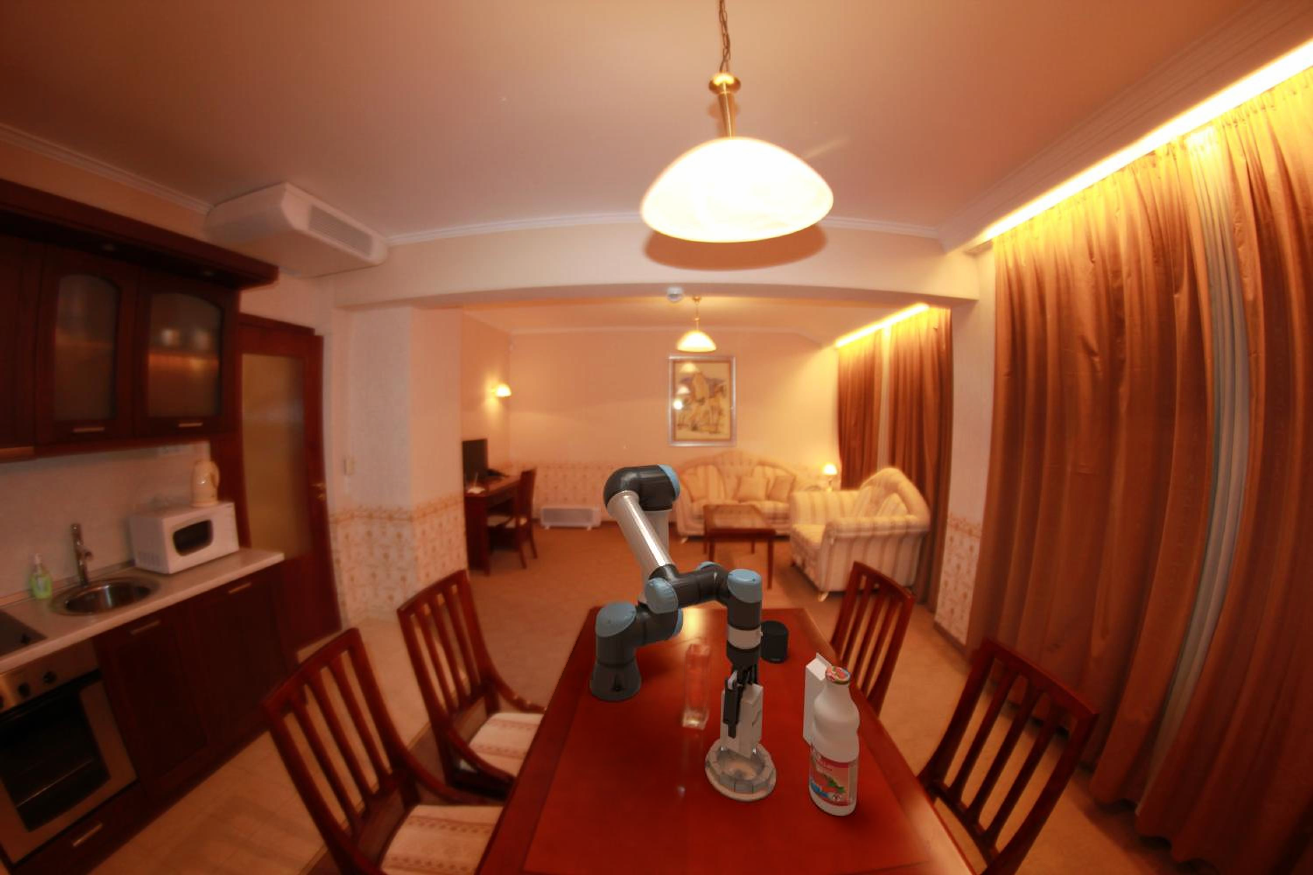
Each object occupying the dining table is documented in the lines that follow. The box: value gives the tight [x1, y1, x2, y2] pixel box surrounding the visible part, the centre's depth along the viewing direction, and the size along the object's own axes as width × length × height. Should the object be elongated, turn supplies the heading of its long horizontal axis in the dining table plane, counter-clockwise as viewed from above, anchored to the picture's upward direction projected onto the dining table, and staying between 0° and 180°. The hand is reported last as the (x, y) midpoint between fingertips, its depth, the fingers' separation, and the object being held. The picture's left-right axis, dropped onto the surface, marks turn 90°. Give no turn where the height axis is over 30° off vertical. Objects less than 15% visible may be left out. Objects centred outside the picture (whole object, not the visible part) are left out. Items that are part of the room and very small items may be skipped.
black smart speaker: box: [760, 619, 790, 664], centre depth 147 cm, size 9×9×10 cm
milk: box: [802, 652, 833, 747], centre depth 109 cm, size 6×6×22 cm
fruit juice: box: [808, 665, 860, 817], centre depth 94 cm, size 9×9×28 cm
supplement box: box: [719, 683, 764, 758], centre depth 100 cm, size 7×7×13 cm
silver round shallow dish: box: [704, 738, 777, 803], centre depth 101 cm, size 16×16×3 cm
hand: (740, 736), depth 101 cm, fingers closed on supplement box, 7 cm apart
